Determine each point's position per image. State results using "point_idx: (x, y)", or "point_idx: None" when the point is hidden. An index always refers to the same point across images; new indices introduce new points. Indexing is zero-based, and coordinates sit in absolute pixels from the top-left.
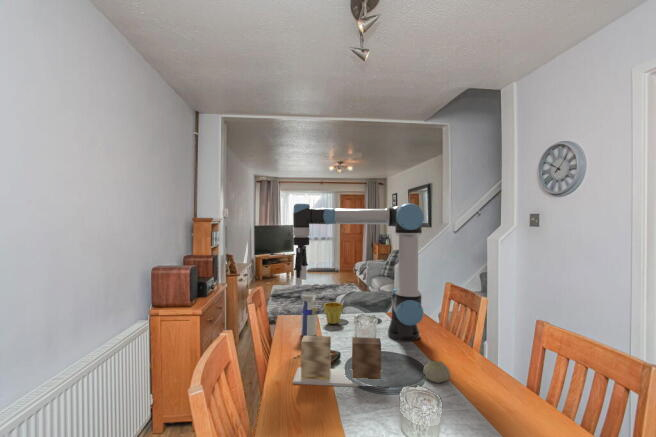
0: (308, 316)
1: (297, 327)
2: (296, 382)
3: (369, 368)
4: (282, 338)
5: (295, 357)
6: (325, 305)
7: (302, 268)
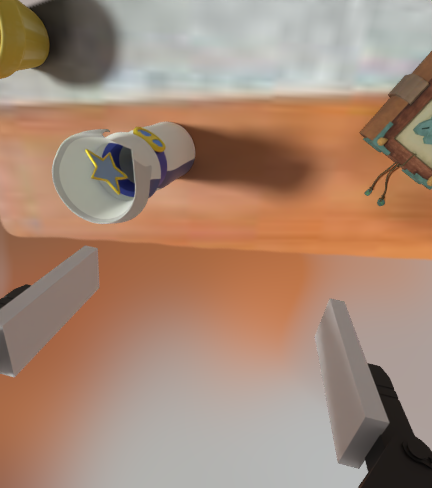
0: (171, 165)
1: None
2: None
3: None
4: (212, 235)
5: (381, 199)
6: None
7: (31, 341)
